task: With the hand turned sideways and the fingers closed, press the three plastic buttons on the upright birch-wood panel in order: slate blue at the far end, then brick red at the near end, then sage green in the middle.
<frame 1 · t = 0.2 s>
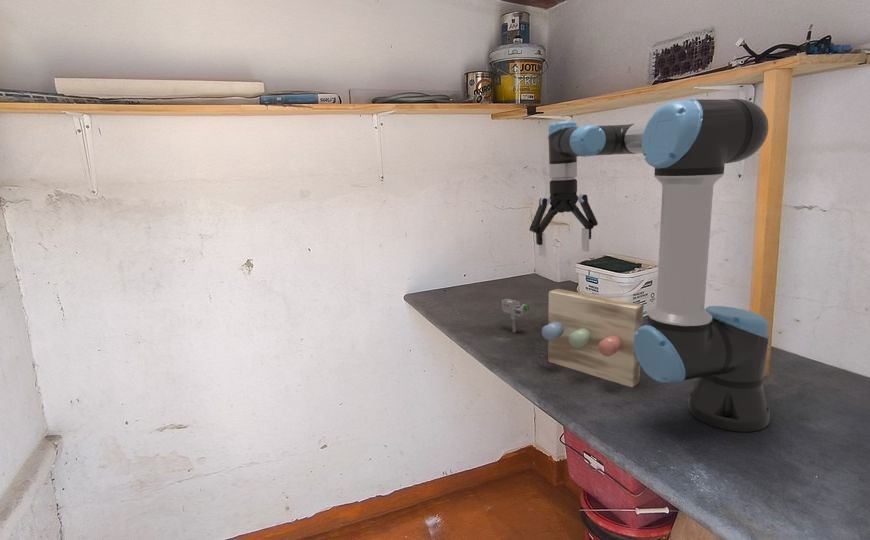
hand: (564, 253, 145), 28 cm above the countertop, tool pointing down, fingers open, 13 cm apart
brick red button: (610, 345, 120), point 11 cm above the countertop, slide at 0.0 cm
slate blue button: (552, 331, 131), point 11 cm above the countertop, slide at 0.0 cm
button panel: (586, 374, 130), on the countertop
mechanical component: (514, 332, 163), on the countertop
sage green button: (580, 338, 125), point 11 cm above the countertop, slide at 0.0 cm
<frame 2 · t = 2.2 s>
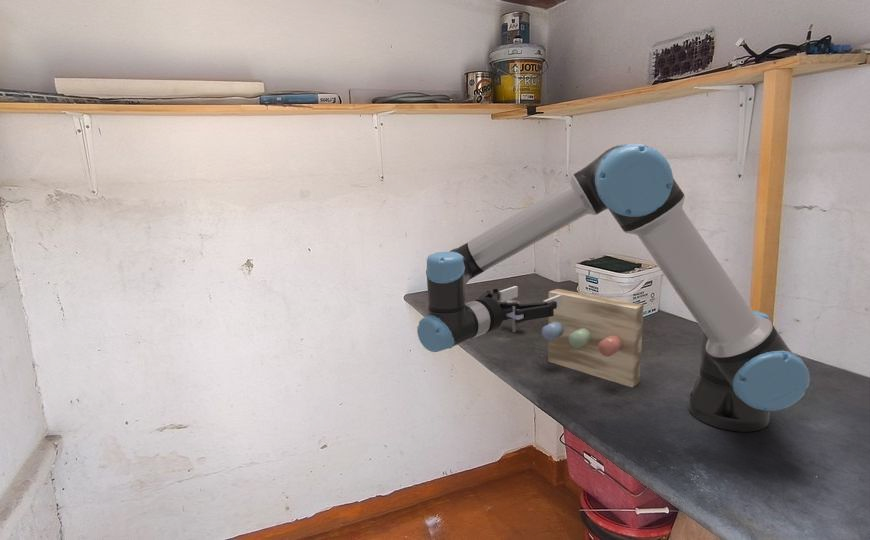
hand: (537, 295, 124), 22 cm above the countertop, tool horizontal, fingers open, 12 cm apart
nothing on the countertop moved.
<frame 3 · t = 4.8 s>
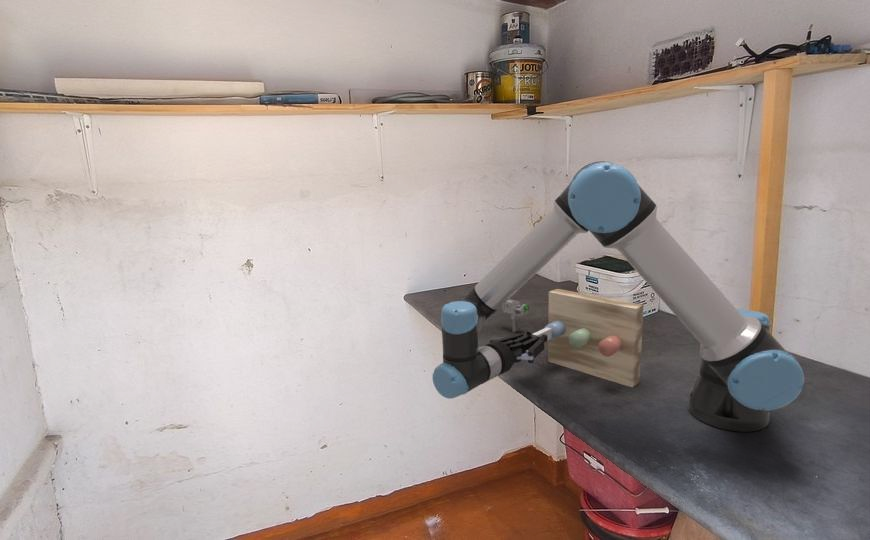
hand: (549, 332, 130), 11 cm above the countertop, tool horizontal, fingers closed
slate blue button: (554, 330, 132), point 11 cm above the countertop, slide at 0.9 cm, touching gripper
everything else where it was.
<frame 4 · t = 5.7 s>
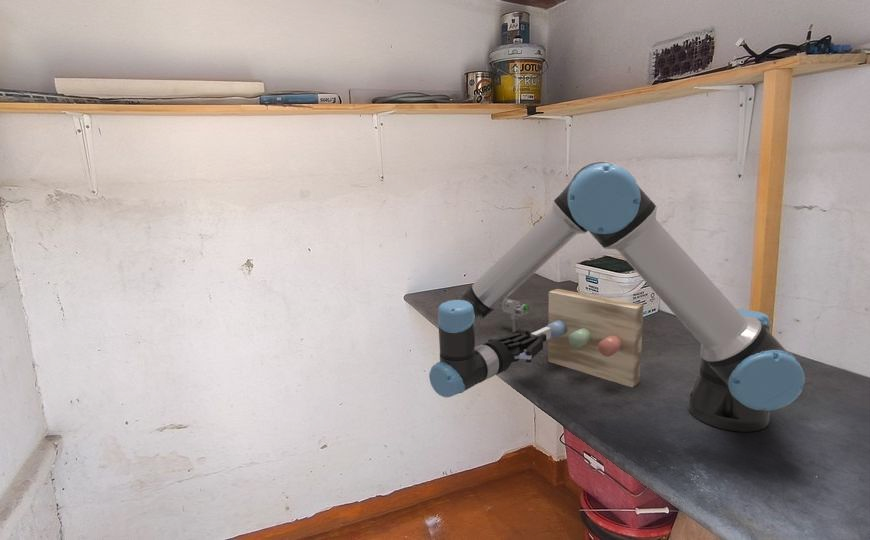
hand: (548, 332, 130), 11 cm above the countertop, tool horizontal, fingers closed
slate blue button: (556, 329, 132), point 11 cm above the countertop, slide at 1.6 cm
everything else where it was.
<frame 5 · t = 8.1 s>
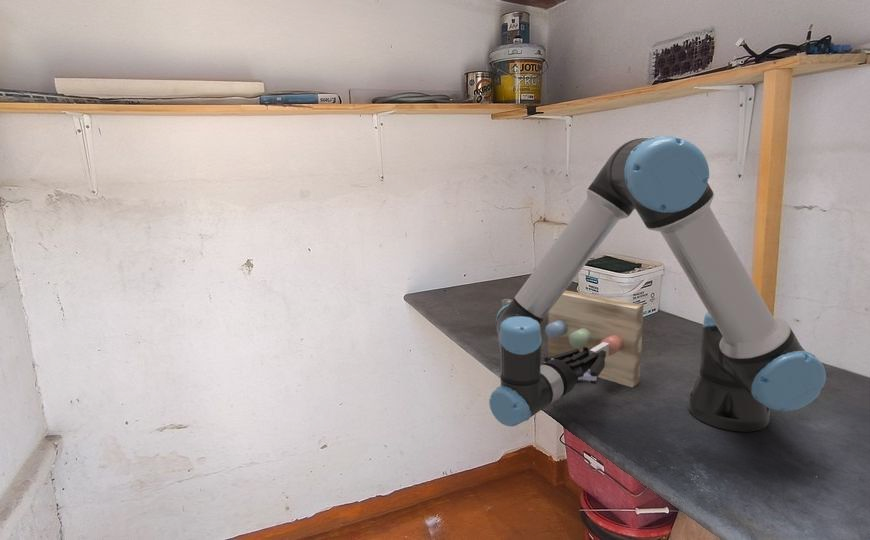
hand: (606, 348, 119), 11 cm above the countertop, tool horizontal, fingers closed
brick red button: (611, 345, 120), point 11 cm above the countertop, slide at 0.6 cm, touching gripper
everything else where it was.
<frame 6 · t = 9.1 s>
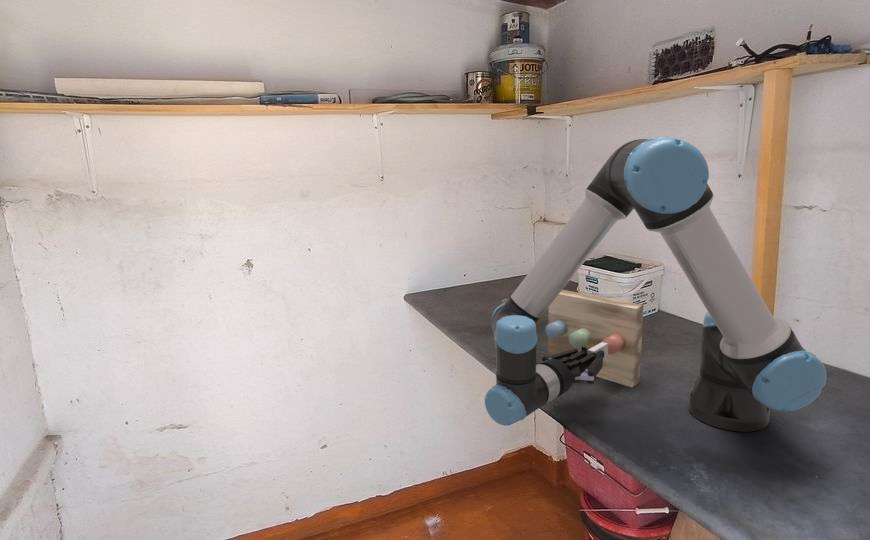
hand: (605, 348, 118), 11 cm above the countertop, tool horizontal, fingers closed
brick red button: (613, 343, 121), point 11 cm above the countertop, slide at 1.6 cm
everything else where it was.
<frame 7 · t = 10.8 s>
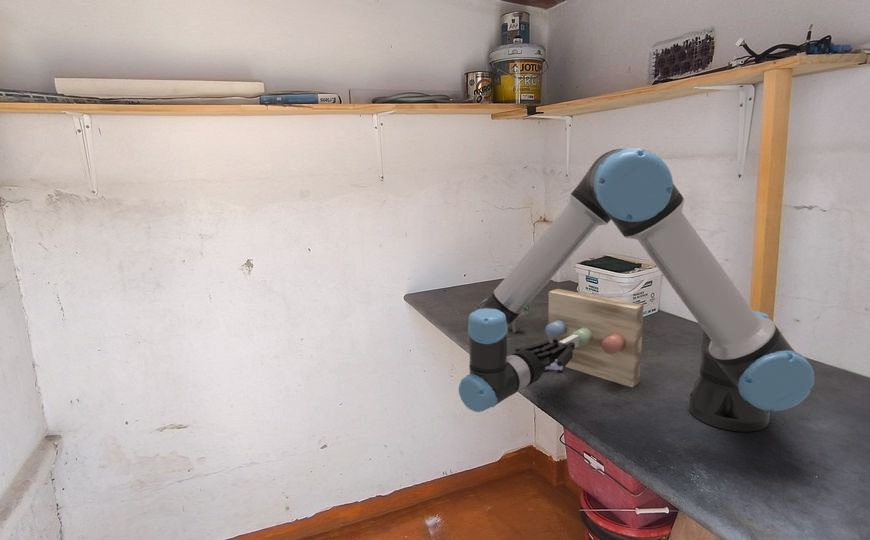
hand: (575, 340, 124), 11 cm above the countertop, tool horizontal, fingers closed
sage green button: (581, 337, 126), point 11 cm above the countertop, slide at 0.6 cm, touching gripper
everything else where it was.
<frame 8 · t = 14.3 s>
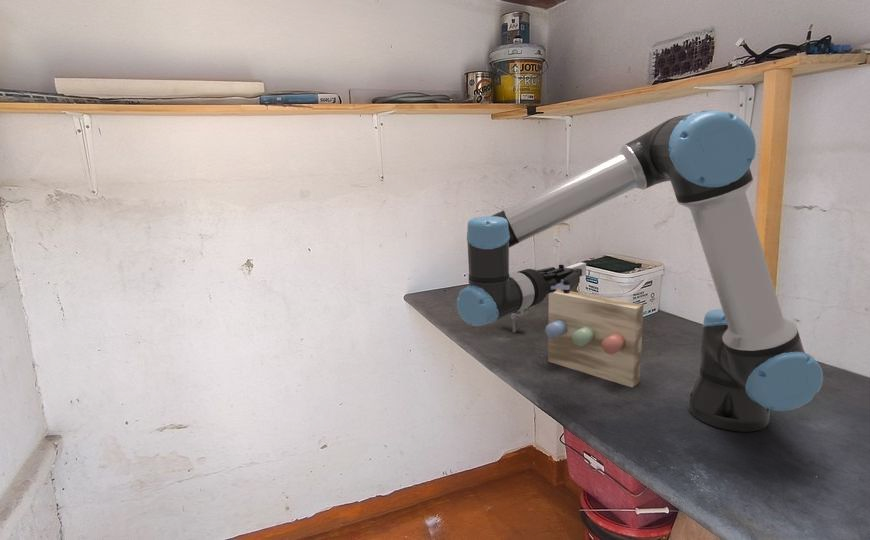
hand: (583, 268, 116), 30 cm above the countertop, tool horizontal, fingers closed
sage green button: (583, 336, 126), point 11 cm above the countertop, slide at 1.6 cm
everything else where it was.
at the end: slate blue button slide at 1.6 cm; brick red button slide at 1.6 cm; sage green button slide at 1.6 cm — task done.
